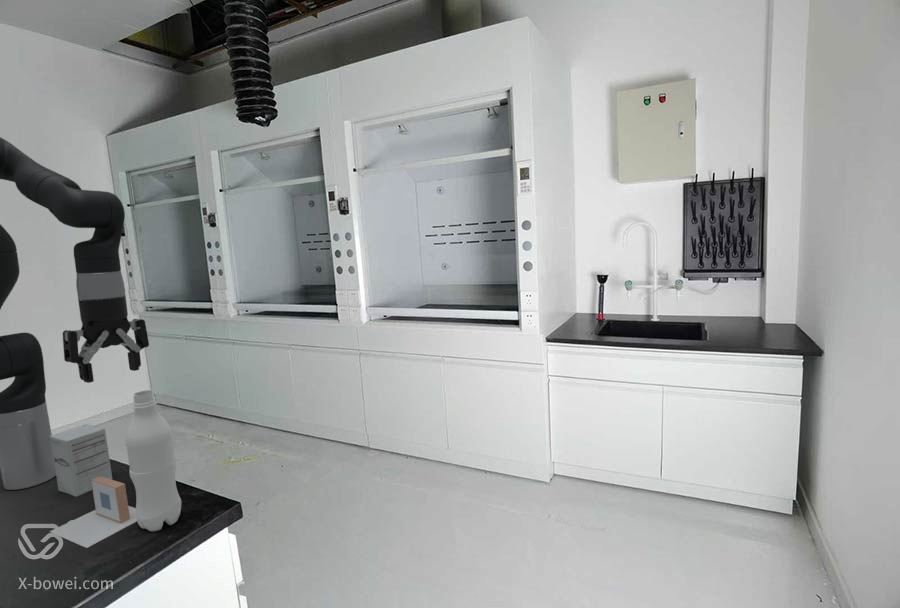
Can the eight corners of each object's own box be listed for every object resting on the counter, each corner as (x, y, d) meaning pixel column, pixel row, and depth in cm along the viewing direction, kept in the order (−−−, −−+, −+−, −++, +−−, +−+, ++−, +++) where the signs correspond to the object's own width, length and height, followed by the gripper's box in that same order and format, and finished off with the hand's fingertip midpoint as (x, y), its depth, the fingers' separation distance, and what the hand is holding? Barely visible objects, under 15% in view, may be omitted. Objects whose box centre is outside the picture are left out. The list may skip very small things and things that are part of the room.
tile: (95, 514, 92) (90, 480, 91) (105, 509, 93) (100, 476, 92) (120, 523, 88) (115, 488, 87) (130, 518, 90) (124, 483, 89)
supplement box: (57, 491, 102) (48, 435, 100) (96, 476, 108) (87, 422, 107) (75, 499, 99) (66, 441, 97) (114, 482, 105) (106, 427, 103)
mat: (49, 533, 87) (49, 531, 87) (114, 502, 96) (114, 500, 96) (87, 549, 81) (86, 547, 81) (151, 515, 91) (151, 513, 91)
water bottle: (157, 512, 92) (139, 386, 89) (191, 512, 91) (175, 386, 88) (128, 535, 85) (108, 399, 82) (165, 536, 84) (146, 399, 81)
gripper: (128, 290, 101) (137, 364, 103) (48, 299, 88) (60, 383, 91) (150, 291, 98) (159, 368, 100) (70, 301, 85) (82, 388, 88)
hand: (112, 375), depth 95 cm, fingers open, 8 cm apart
